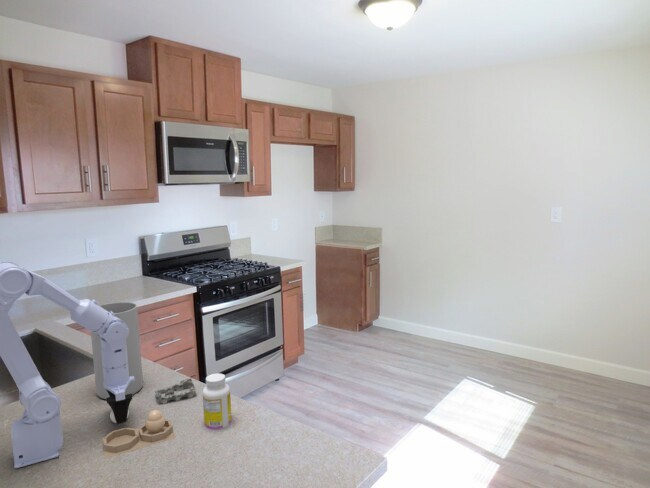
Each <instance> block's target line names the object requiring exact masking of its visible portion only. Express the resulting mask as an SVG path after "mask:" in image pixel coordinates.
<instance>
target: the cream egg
mask: <svg viewBox="0 0 650 488" xmlns="http://www.w3.org/2000/svg"><path fill="white" fill-rule="evenodd" d="M129 416H130V410H129V409H128V415H127V419H128V418H129ZM109 417H110V421H111V422H112V423H114V424H117V422H116V420H115V416H114V413H113V410H112V409H111V411H110V413H109Z"/></svg>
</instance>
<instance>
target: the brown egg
mask: <svg viewBox="0 0 650 488" xmlns="http://www.w3.org/2000/svg"><path fill="white" fill-rule="evenodd" d="M146 417H147V418H146V419H145V422H144V424H145V425H146V429H147V430H148V431H149V432H150V435H153V434H157V433H160V432H162V429H163V427H164V425H165V419H166V418H165V417H164V415H163V413H162V412H161V410H158V409H153V410H151V411H149V413H148V414H147V416H146Z"/></svg>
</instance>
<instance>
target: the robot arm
mask: <svg viewBox="0 0 650 488" xmlns="http://www.w3.org/2000/svg"><path fill="white" fill-rule="evenodd" d="M24 294H26V295H27V296H30V297H31V296H41V297H43V298H46V299H47V300H49V301H50V302H52V303H55V304H56V305H58V306H60V307H61V308H63V309H65V310H67V311H68V312H69V315H70V319H71V321H73V322H74V323H76V324H78V325H80V326H81V327H83V328H85V329H87V330H88V331H89V332H91V331H92V332H93V333H96V334H97V335H98V336H101V337H102V338H101V354H102V365H103V375H104V383H103V385H104V388H105V389H106V390H107V392H108V394H109V396H110V397H108V398H107V399H106V403H107V404H108V406H109V407H110V408H111V410H113V413H114V416H115V420H116V422H117V423H116V424H117V425H119V424H123V423H126V422H127V420H128V418H127V415H128V410H129V407H130V403H131V402H132V401H133V395H134V394H133V395H132V393H131V394H127V395H125V391H126V389H127V387H128V385H129V383H130V382H133V381H135V378H134V376H130V377H129V369H128V356H127V345H126V338H127V336H128V334H129V328H128V327H127V324H126V323H125V322H124V321H122V320H121V319H119V318H117V317H115V313H113V312H112V311H110V312H108V311H106V310H105V309H103V308H102V307H100V305H99V304H100V302H99V301H97V300H96V299H89V298H85V299H77V298H76V297H75V296H73V295H72V294H71V293H69V292H67V291H66V290H64V289H62V288H61V287H60V286H59V285H57V284H55V283H54V282H52V281H51V280H49V279H47V278H46V277H44V276H42V275H40V274H38V273H36V272H33V271H32V270H30V269H27V268H24V267H20V266H19V265H18V264H16V263H15V262H13V261H9V260H8V261H0V358H1V360H2V361H3V363H4V364H5V366H6V368H7V370H8V372H9V374H10V376H11V377H12V379H13V380H14V383H15V385H16V386H17V388H18V393H19V395H18V400H19V403H20V405H22V407H24V411H23V413H22V416H21V418H19V419H16V420H13V421H12V422H11V424H10V425H11V428H10V429H11V430H10V432H11V433H10V435H11V436H10V437H11V447H12V448H11V449H12V455H13V462H14V469H19V468H21V467H22V468H23V467H25V466H29V465H30V466H31V465H33V464H37V463H40V462H41V463H42V462H43V461H48V460H51V459H55V458H59V457H60V449H61V448H63V446H64V437H63V426H62V419H61V418H62V417H61V405H62V400H61V398H60V397H59V395H58V394H56V392H55V391H53V389H52V386H51V385H50V384H49V383H48V382H46V381H45V380H44V379H43V377H42V375H41V374H40V371H39V370H38V367H37V366H36V364H35V363H34V360H33V358H32V357H31V355H30V353H29V351H28V350H27V347H26V345H25V344H24V342H23V340H22V338H21V336H20V334H19V332H18V331H17V329H16V327H15V325H14V323H13V321H12V319H11V318H10V316H9V312H10V310H11V308H12V307H13V305H15V302H17V300H18V299H20V298H21V297H22V296H23V295H24Z"/></svg>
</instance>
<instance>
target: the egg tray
mask: <svg viewBox="0 0 650 488" xmlns="http://www.w3.org/2000/svg"><path fill="white" fill-rule="evenodd" d="M173 427H174V426H173V424H172V421H171V419H166V418H165V425H164V427H163V429H162V432H160V433H157V434H153V435H150V432H149V431H148V430H147V429H146V425H145V423H144V424H143V425H141V426H140V427H138V428H132V427H122V428H119V429H115V430H112V431H111V432H109V433H108V434H107V435H106V436H104V437H102V438H101V439H102V445H103V452H104V459H108V458H112V457H115V456H118V455H119V456H120V455H122V454H125V453H128V452H132V451H135V450H140V449H143V448H146V447H149V446H152V445H156V444H161V443H163V442H166V441H169V440H173V439H176V438H177V437H176V434H175V432H174V428H173Z"/></svg>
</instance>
